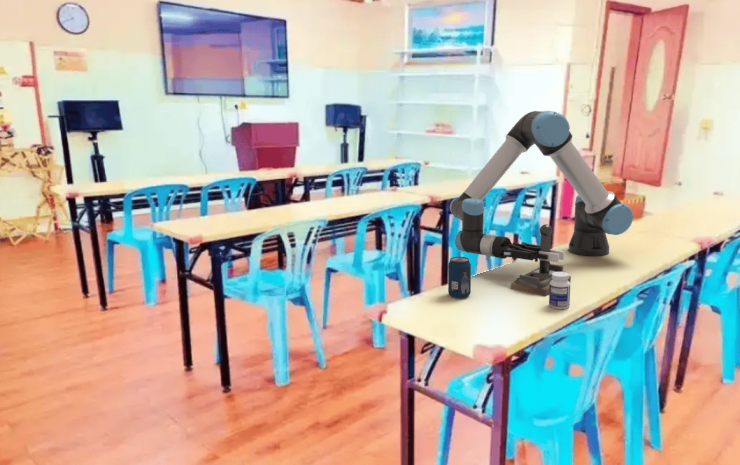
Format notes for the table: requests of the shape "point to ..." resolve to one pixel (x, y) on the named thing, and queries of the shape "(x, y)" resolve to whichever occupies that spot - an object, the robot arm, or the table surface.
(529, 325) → the table surface
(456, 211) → the robot arm
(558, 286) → the pill bottle
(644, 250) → the table surface
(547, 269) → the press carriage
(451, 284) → the soda can
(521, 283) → the press base
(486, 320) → the table surface
